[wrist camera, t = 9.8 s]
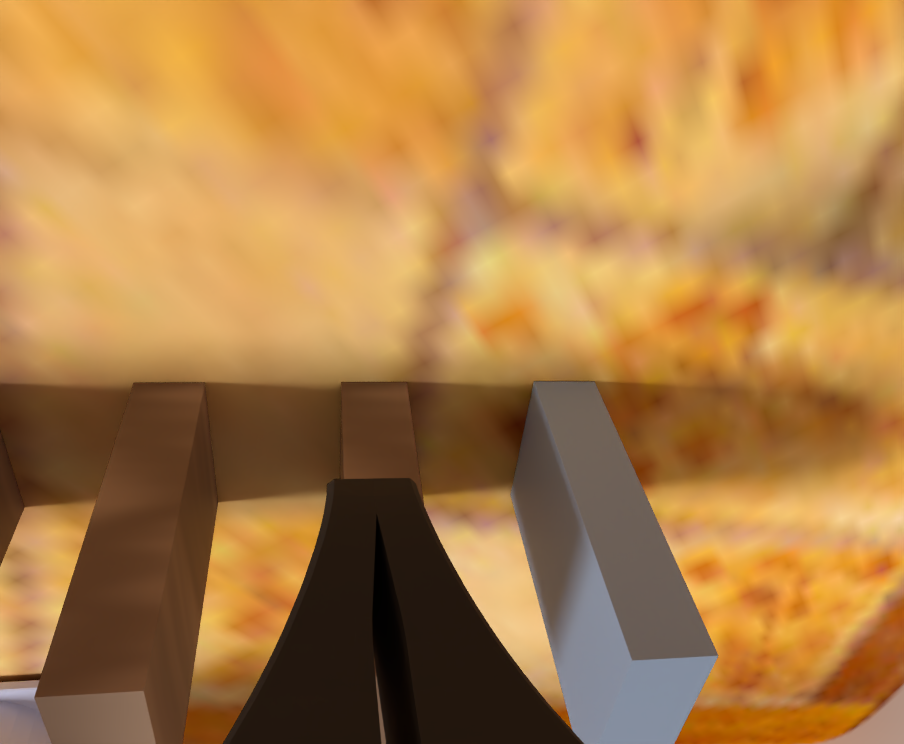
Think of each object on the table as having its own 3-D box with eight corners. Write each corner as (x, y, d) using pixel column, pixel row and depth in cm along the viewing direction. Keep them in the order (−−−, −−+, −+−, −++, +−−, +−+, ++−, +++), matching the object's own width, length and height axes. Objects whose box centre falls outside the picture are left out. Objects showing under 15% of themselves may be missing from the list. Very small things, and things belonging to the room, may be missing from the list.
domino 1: (204, 382, 24) (143, 691, 16) (218, 502, 26) (171, 813, 18) (133, 382, 23) (33, 697, 15) (154, 504, 26) (80, 821, 18)
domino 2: (406, 382, 24) (447, 672, 16) (398, 497, 27) (428, 791, 19) (341, 382, 24) (350, 678, 16) (339, 499, 27) (346, 799, 19)
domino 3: (594, 381, 25) (718, 656, 17) (565, 493, 28) (659, 771, 20) (534, 381, 25) (632, 660, 17) (510, 494, 28) (584, 778, 20)
